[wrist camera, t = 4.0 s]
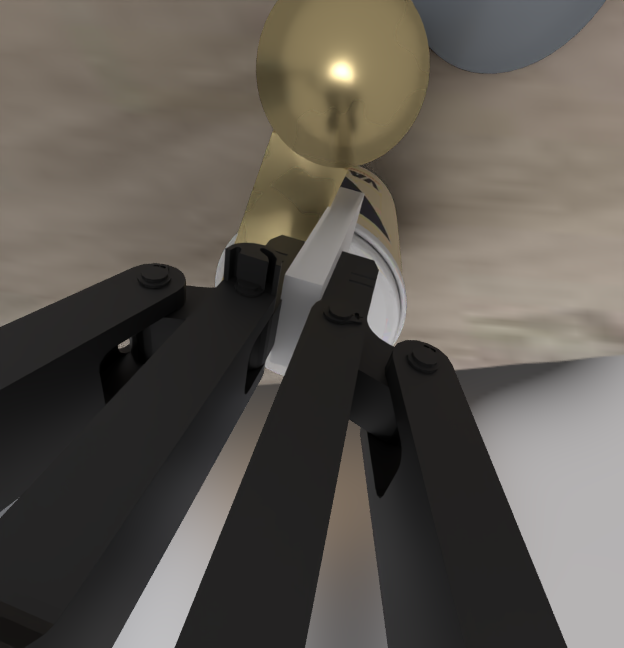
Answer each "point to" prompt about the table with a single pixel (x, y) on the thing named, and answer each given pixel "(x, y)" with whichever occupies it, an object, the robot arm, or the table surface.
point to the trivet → (501, 30)
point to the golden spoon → (330, 103)
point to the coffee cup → (370, 256)
